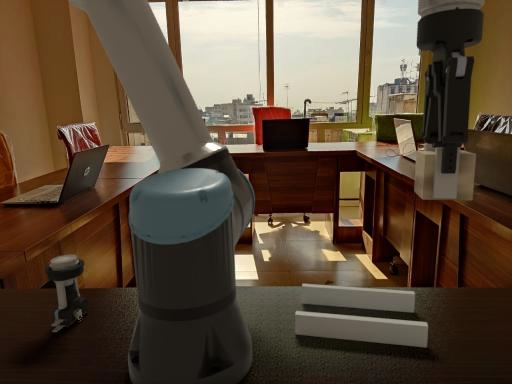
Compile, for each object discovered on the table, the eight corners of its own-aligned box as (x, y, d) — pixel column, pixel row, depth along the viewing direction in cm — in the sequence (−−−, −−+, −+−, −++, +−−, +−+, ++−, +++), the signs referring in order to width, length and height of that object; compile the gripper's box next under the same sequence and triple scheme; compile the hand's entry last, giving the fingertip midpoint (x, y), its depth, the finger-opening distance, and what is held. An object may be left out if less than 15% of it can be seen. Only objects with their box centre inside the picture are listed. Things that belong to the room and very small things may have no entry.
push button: (70, 336, 53) (62, 270, 51) (37, 333, 54) (27, 268, 52) (97, 312, 60) (90, 253, 58) (67, 310, 60) (59, 251, 59)
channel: (295, 334, 52) (295, 314, 52) (302, 300, 62) (302, 283, 61) (426, 347, 48) (428, 326, 48) (412, 309, 58) (413, 291, 57)
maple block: (422, 199, 50) (425, 154, 49) (414, 191, 55) (416, 150, 54) (472, 200, 48) (476, 153, 47) (458, 191, 54) (461, 150, 53)
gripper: (516, -14, 38) (494, 209, 42) (459, 28, 56) (448, 181, 60) (435, -7, 39) (422, 208, 44) (406, 32, 57) (399, 181, 62)
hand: (437, 192), depth 52 cm, fingers closed on maple block, 6 cm apart
